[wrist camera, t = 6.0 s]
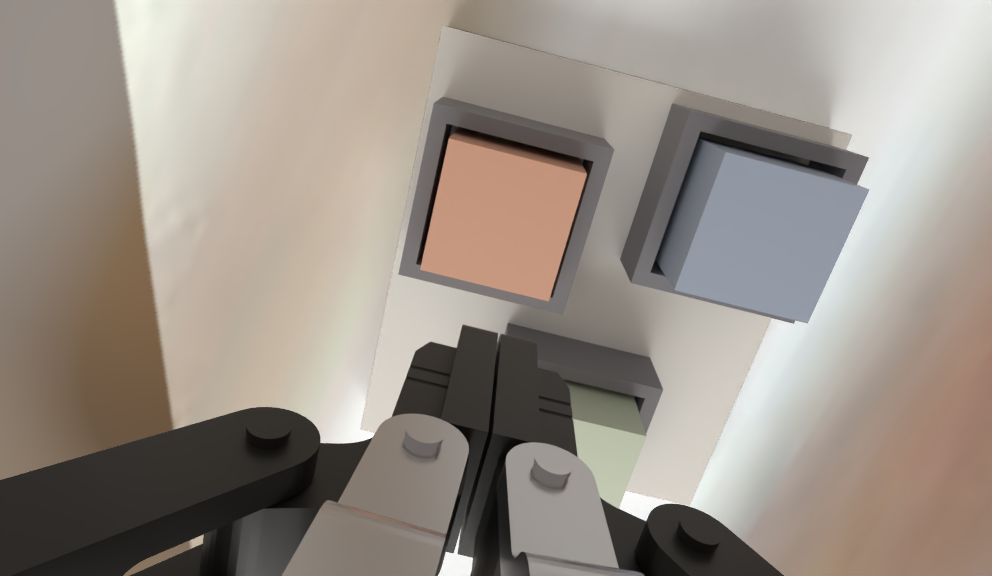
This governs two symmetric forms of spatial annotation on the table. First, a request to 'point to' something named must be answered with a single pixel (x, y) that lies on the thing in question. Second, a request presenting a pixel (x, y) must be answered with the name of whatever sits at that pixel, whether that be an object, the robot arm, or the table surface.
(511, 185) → the terracotta button
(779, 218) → the slate blue button
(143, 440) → the robot arm
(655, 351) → the button panel
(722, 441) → the table surface
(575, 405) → the sage green button
